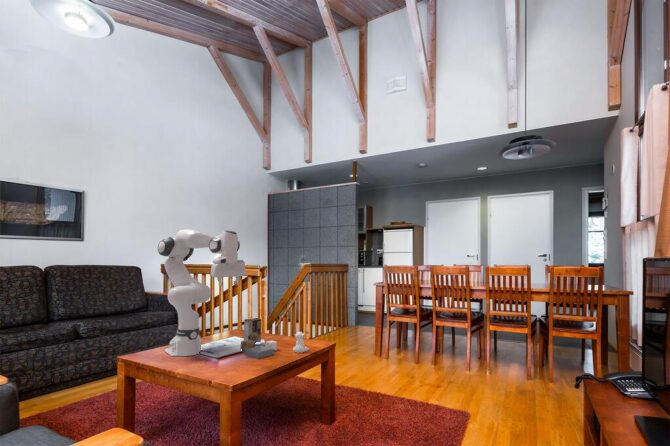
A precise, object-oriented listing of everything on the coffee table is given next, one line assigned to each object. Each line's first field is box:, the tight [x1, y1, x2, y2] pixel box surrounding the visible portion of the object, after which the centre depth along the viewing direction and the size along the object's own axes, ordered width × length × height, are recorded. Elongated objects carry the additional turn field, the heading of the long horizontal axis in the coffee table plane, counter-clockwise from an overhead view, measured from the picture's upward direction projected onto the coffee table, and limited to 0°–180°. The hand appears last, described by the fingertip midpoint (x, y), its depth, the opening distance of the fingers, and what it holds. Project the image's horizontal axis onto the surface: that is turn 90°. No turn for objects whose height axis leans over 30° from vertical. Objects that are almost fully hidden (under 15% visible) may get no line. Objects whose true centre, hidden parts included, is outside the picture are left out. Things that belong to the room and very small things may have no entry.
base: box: [244, 345, 276, 360], centre depth 215 cm, size 12×12×3 cm
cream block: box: [264, 339, 278, 351], centre depth 226 cm, size 5×5×5 cm
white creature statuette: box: [292, 331, 310, 354], centre depth 223 cm, size 10×9×12 cm
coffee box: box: [243, 317, 262, 343], centre depth 237 cm, size 9×6×16 cm
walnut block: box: [240, 339, 256, 354], centre depth 222 cm, size 6×6×6 cm
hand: (228, 285), depth 206 cm, fingers open, 8 cm apart
